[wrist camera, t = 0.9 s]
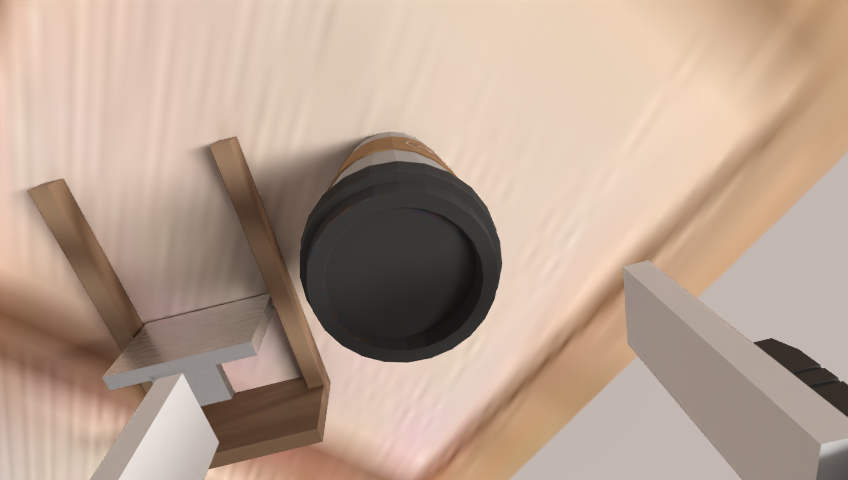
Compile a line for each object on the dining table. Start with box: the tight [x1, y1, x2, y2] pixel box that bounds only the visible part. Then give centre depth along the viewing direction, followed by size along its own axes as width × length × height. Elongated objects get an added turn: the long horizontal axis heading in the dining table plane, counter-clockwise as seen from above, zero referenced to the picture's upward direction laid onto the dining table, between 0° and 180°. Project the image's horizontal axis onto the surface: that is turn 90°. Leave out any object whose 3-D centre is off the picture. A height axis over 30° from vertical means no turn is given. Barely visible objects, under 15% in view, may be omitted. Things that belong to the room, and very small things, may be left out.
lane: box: [27, 136, 330, 469], centre depth 31 cm, size 20×12×6 cm, turn 13°
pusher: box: [102, 293, 275, 406], centre depth 32 cm, size 4×9×6 cm, turn 102°
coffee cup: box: [300, 132, 502, 362], centre depth 25 cm, size 8×8×15 cm
